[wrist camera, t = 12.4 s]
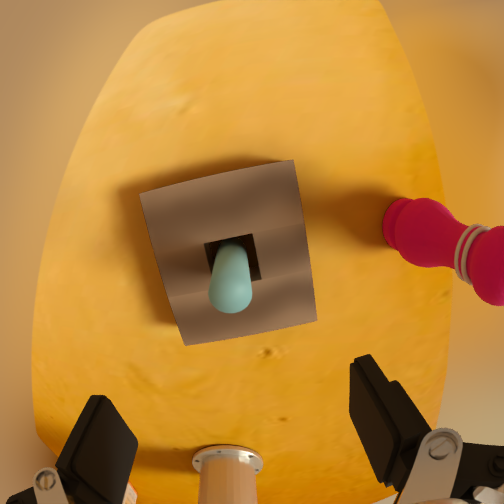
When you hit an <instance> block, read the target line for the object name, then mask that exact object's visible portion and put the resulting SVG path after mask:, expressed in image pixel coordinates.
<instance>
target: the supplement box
mask: <svg viewBox="0 0 504 504" xmlns="http://www.w3.org/2000/svg"><path fill="white" fill-rule="evenodd" d="M136 498H137V492H136V491H135V489H134V488H133V486H132V485H131V483H130V482H129V481H128V483H127V487H126V491H125V495H124V499H123V503H122V504H135V502H136Z"/></svg>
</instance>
